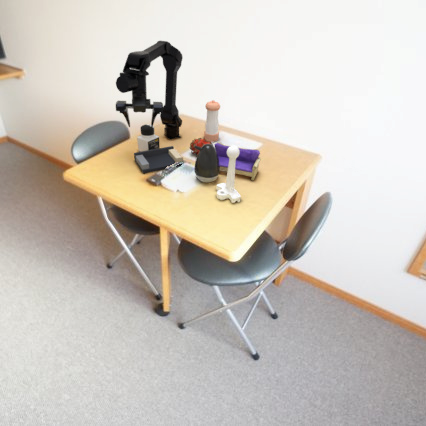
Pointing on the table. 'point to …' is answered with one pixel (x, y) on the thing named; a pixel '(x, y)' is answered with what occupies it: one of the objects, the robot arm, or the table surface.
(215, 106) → the pepper shaker
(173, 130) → the robot arm
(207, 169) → the dark grey tapered dome
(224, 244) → the table surface
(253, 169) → the toy sofa
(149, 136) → the medicine bottle
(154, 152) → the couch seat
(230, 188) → the joystick
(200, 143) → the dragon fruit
